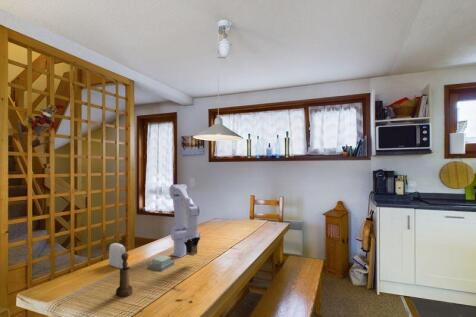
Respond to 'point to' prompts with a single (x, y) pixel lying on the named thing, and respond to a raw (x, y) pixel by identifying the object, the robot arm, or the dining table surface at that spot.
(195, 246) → the walnut cube
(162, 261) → the tower top slab
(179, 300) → the dining table surface
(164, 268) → the tower base slab
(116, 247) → the photo printer
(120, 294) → the mortar and pestle
